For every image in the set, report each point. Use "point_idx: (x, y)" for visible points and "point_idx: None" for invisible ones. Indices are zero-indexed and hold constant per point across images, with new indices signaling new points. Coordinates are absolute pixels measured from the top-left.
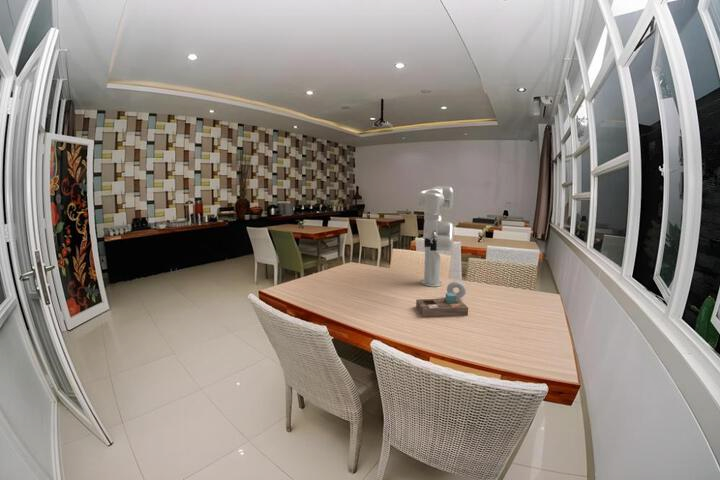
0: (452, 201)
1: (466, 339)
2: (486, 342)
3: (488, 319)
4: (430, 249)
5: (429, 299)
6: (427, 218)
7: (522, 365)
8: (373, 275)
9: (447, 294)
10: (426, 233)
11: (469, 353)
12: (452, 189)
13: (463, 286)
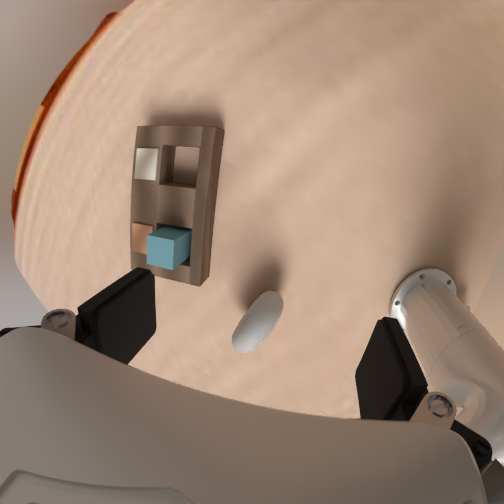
0: None
1: (62, 190)
2: (55, 221)
3: None
4: (135, 270)
5: (205, 178)
6: None
7: (24, 231)
8: None
9: (160, 238)
10: (63, 470)
11: (39, 173)
12: None
13: (232, 344)
